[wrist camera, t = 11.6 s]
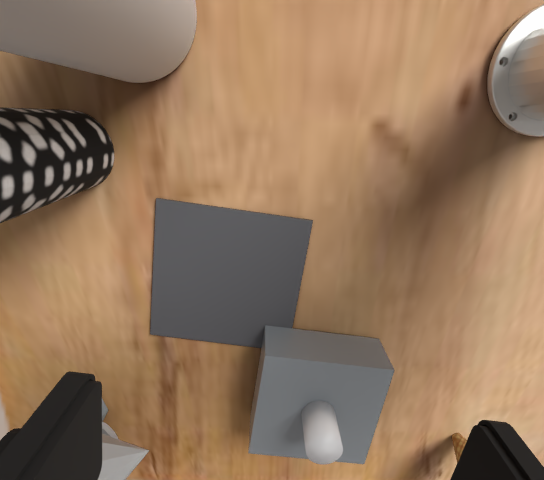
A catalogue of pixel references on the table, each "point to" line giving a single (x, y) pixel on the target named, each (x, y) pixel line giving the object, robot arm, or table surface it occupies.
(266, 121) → the table surface
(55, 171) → the spotted tube
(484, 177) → the table surface
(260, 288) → the rubber mat
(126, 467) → the jet engine
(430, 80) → the table surface
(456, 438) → the ice cream cone
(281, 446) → the lid
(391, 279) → the table surface
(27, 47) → the cylinder vase
